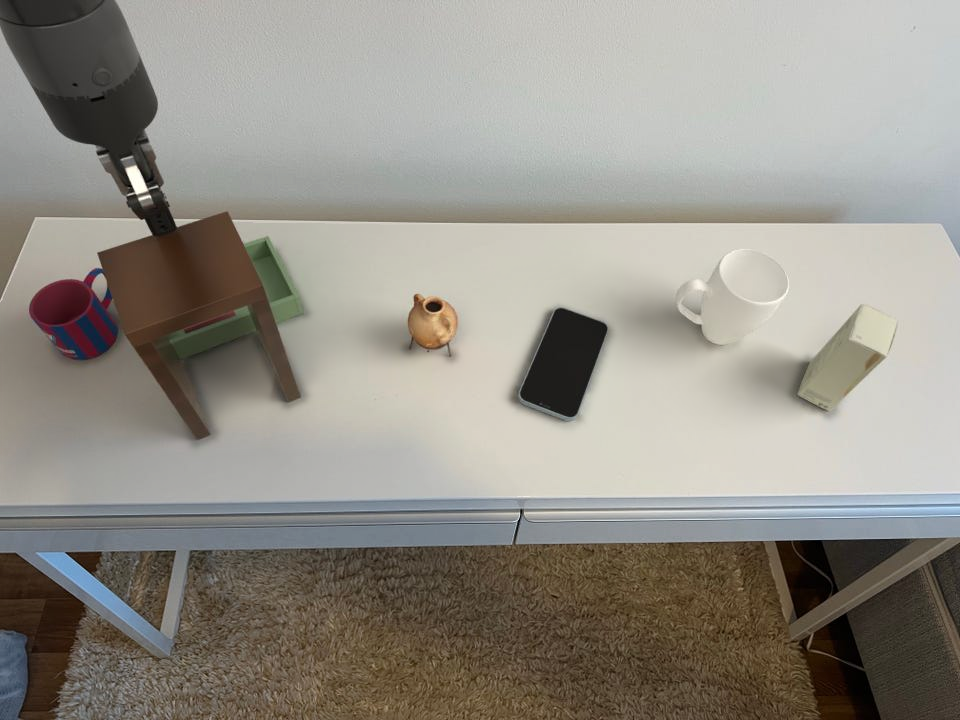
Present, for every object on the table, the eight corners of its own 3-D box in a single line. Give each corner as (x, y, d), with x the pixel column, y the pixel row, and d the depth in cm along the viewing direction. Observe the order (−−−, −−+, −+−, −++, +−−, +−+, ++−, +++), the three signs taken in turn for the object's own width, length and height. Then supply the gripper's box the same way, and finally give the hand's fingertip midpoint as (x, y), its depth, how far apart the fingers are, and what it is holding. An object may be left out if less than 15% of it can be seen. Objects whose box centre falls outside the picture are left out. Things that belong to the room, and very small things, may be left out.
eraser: (186, 331, 81) (191, 343, 80) (178, 317, 79) (183, 329, 78) (234, 313, 83) (240, 325, 82) (228, 298, 80) (234, 310, 80)
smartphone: (611, 324, 85) (576, 421, 77) (609, 328, 86) (574, 424, 78) (556, 304, 86) (515, 398, 78) (554, 309, 87) (514, 402, 79)
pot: (410, 323, 85) (405, 363, 81) (410, 278, 79) (404, 319, 75) (457, 327, 85) (454, 367, 81) (461, 282, 79) (457, 324, 75)
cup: (45, 345, 79) (14, 311, 74) (106, 287, 84) (82, 251, 79) (89, 369, 78) (61, 336, 72) (149, 308, 83) (128, 273, 77)
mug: (740, 305, 89) (778, 247, 80) (757, 358, 85) (799, 304, 75) (652, 305, 88) (679, 247, 79) (665, 359, 84) (695, 304, 74)
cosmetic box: (829, 413, 81) (887, 360, 71) (795, 395, 82) (847, 340, 72) (843, 375, 84) (901, 318, 74) (810, 358, 85) (863, 300, 75)
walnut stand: (197, 440, 74) (124, 334, 57) (172, 371, 79) (96, 252, 61) (301, 397, 78) (263, 284, 60) (271, 333, 82) (227, 210, 65)
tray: (172, 362, 79) (162, 346, 76) (148, 296, 84) (138, 279, 81) (303, 313, 84) (299, 296, 81) (273, 253, 89) (268, 235, 86)
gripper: (7, 19, 49) (105, 194, 64) (41, 131, 43) (140, 294, 58) (114, -3, 51) (184, 171, 66) (160, 100, 45) (226, 265, 60)
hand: (164, 228), depth 62 cm, fingers closed
